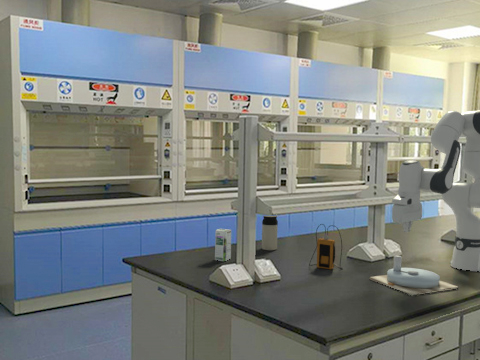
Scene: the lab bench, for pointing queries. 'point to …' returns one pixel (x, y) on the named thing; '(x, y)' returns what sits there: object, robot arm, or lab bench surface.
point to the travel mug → (269, 233)
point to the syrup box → (222, 244)
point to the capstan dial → (411, 276)
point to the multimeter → (326, 252)
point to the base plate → (411, 290)
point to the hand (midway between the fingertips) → (406, 231)
